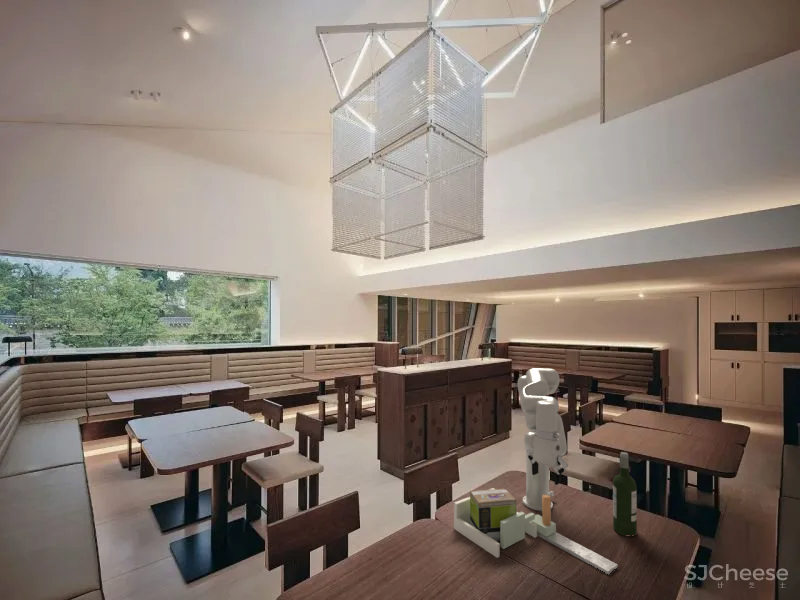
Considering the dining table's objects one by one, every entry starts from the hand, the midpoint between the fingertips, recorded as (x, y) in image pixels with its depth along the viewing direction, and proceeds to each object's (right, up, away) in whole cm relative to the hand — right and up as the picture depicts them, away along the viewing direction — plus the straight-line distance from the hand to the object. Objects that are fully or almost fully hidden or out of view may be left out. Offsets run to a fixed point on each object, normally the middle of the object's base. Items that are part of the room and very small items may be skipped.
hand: (546, 478), depth 146 cm
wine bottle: (+31, -22, +2) cm, 38 cm away
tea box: (-21, -21, -1) cm, 29 cm away
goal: (-19, -21, 0) cm, 28 cm away
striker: (-9, -20, -5) cm, 23 cm away
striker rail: (+2, -21, -5) cm, 22 cm away
